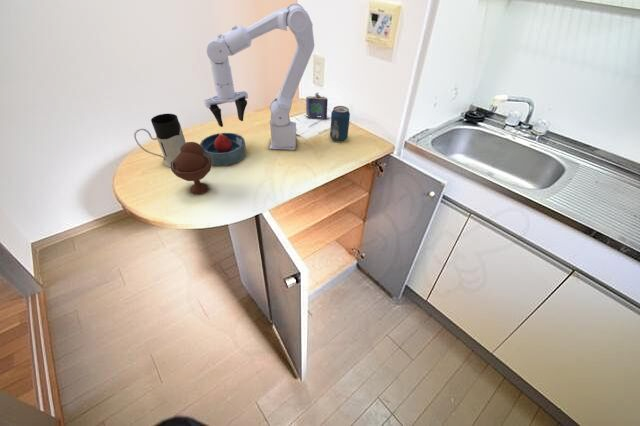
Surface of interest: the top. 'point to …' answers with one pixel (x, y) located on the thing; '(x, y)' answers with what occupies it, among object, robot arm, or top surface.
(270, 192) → the top surface
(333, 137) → the soda can
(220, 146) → the pomegranate
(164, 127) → the glass holder
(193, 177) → the ice cream bowl
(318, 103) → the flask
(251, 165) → the top surface
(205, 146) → the bowl
